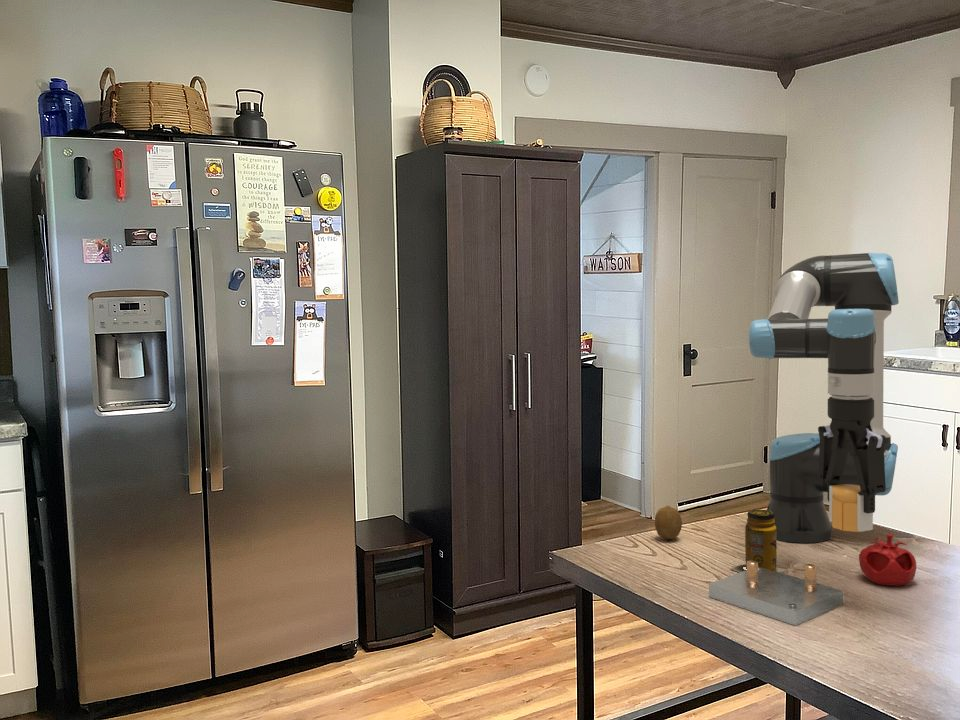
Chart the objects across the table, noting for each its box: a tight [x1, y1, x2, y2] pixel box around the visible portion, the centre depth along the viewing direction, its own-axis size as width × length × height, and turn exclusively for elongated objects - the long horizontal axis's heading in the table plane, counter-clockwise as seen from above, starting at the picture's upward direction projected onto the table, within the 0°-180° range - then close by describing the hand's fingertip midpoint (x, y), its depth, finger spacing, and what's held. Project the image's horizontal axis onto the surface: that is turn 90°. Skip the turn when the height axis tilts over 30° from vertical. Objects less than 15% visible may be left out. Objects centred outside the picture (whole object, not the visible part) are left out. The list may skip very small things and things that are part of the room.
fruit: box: [654, 505, 683, 541], centre depth 190 cm, size 6×6×8 cm
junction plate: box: [708, 561, 844, 626], centre depth 151 cm, size 15×18×7 cm
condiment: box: [729, 509, 786, 573], centre depth 167 cm, size 7×8×12 cm
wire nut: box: [831, 484, 861, 533], centre depth 146 cm, size 6×6×7 cm
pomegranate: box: [858, 533, 917, 587], centre depth 159 cm, size 10×10×9 cm
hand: (850, 525), depth 146 cm, fingers closed on wire nut, 6 cm apart
